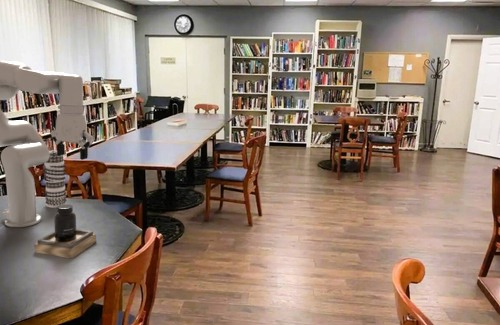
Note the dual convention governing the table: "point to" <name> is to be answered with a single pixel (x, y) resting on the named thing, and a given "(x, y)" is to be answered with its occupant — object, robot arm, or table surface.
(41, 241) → the wooden tray
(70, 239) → the supplement bottle
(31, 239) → the table surface
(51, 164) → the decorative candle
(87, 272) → the table surface
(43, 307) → the table surface
